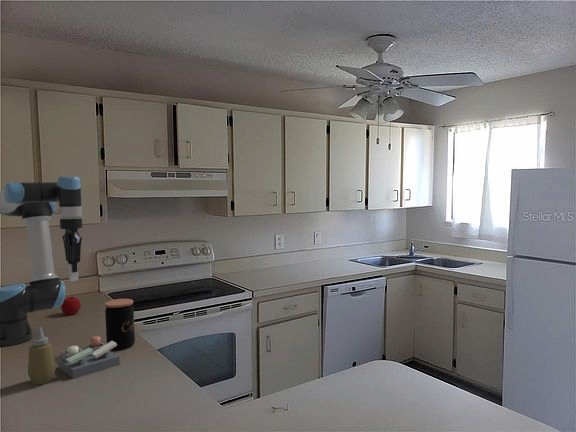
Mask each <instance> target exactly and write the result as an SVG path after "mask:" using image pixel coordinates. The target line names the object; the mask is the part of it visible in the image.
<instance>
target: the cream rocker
mask: <svg viewBox="0 0 576 432" xmlns="http://www.w3.org/2000/svg"><path fill="white" fill-rule="evenodd" d="M105 344H106V345H104V346H102V347H101V348H99V349H97V350H96V351H94V353H92V356H94V357H95V358H97V357H99V356H101V355H102V354H104V353H106V354H108V352H109V351H112V350H111V349H112V348H114V347H115V346H117V343H115V342H113V341H111V342H109V343H107V342H106V343H105Z"/></svg>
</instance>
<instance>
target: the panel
mask: <svg viewBox="0 0 576 432" xmlns="http://www.w3.org/2000/svg"><path fill="white" fill-rule="evenodd" d="M106 344H107V343H104V342H102V341H101V346H99V347H95V348H91V347H90V343H89V344H85V345H84V349H82V348H80V347H78V348H79V352H81V351H83V350H85V349H87V348H90V349H92V350H93V351H96V350H97V349H99V348H101V347H102V346H104V345H106ZM79 352H77V353H79ZM77 353H73V354H67V349H66V350H63V351H61V358H58V359H57V363H58V365H57V367H58V369H60V370H61V371H62V372H64V373H65V374H66V375H67V376H69V377H70V378H72V379H77V378H79V377H84V376H86V375H90V374H93V373H96V372H99V371H103V370H105V369H109V368H112V367H115V366H118V365H121V363H120V356H119V355H118V354H117V353H115V352H113V351H112V350H109V352H108V354H106V353H104V354H102V355H101V356H99V357H97V358H95V357H94V356H92V354H90V355H88V356H86V357H85V358H84V360H83V361H82V360H79V361H77V362H75V363H73V364H69V363H68V362H67V361H66V359H67V358H69V357H71V356H73V355H75V354H77ZM89 373H90V374H89Z"/></svg>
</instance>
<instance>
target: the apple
mask: <svg viewBox="0 0 576 432" xmlns="http://www.w3.org/2000/svg"><path fill="white" fill-rule="evenodd" d="M81 306H82V305H81V301H80V299H79V298H77V297H75V296H69V297H66V298H64V302H63V304H62V305H61V306H60V309H61V311H62V314H64V315H66V316H72V314H73V315H75V314H77V313H79V311H80V309H81Z"/></svg>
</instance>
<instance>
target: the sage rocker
mask: <svg viewBox="0 0 576 432" xmlns="http://www.w3.org/2000/svg"><path fill="white" fill-rule="evenodd" d="M82 350H83V351H81V352H79V353H77V354H75V355H73V356H71V357H69V358H67V359H66V361H67V362H68V363H69V364H73V363H75V362H77V361H79V360H82V361H83V360H84V358H85V357H86V356H88V355H90V354H92V353H94V351H93V350H92V349H90V348H87V349H85V348H84V349H82Z"/></svg>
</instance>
